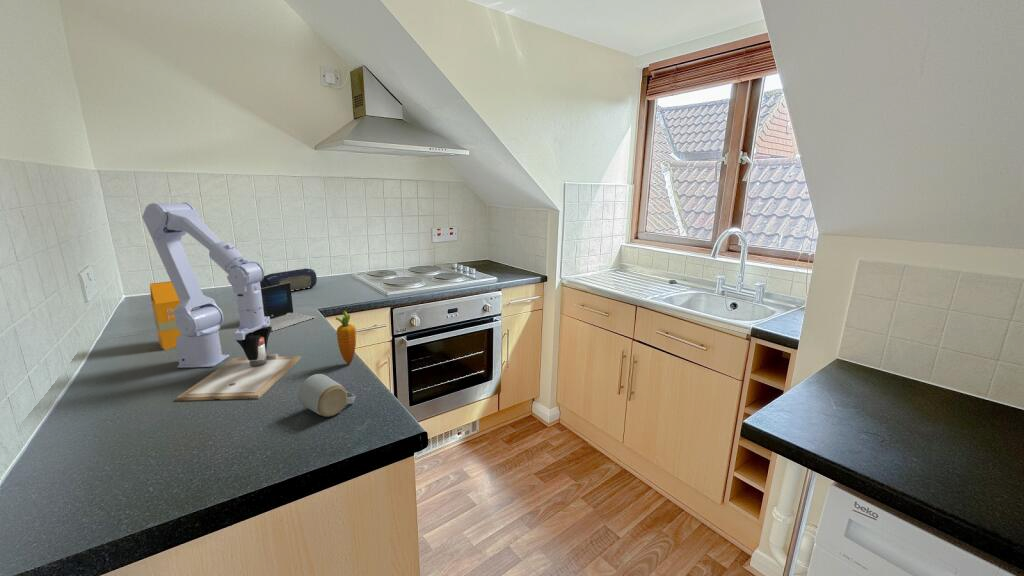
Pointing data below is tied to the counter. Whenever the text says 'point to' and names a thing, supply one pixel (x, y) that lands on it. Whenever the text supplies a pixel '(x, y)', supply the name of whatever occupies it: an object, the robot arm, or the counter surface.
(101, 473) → the counter surface
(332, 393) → the ceramic mug
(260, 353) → the marker
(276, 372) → the clipboard
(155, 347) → the counter surface
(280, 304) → the laptop
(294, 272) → the portable speaker
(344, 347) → the carrot
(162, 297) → the orange juice
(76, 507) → the counter surface
